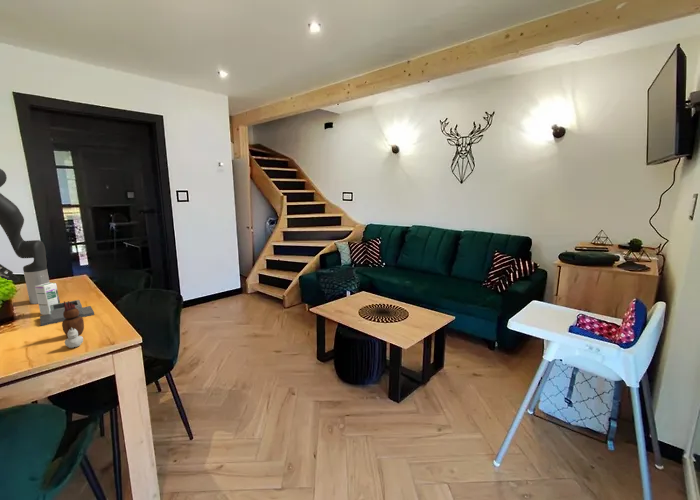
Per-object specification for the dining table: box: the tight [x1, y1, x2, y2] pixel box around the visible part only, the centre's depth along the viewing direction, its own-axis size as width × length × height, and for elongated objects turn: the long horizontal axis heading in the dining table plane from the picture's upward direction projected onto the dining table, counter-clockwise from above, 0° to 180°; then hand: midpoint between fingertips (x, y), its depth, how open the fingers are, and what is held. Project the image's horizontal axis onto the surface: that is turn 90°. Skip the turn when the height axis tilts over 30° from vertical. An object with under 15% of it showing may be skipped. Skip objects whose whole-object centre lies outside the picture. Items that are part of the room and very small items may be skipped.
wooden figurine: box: [61, 301, 85, 337], centre depth 137 cm, size 7×6×15 cm
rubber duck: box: [64, 327, 84, 349], centre depth 128 cm, size 5×7×8 cm
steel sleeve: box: [39, 299, 95, 327], centre depth 159 cm, size 13×19×6 cm
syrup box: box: [35, 282, 61, 315], centre depth 164 cm, size 6×6×14 cm
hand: (14, 280), depth 154 cm, fingers open, 8 cm apart
